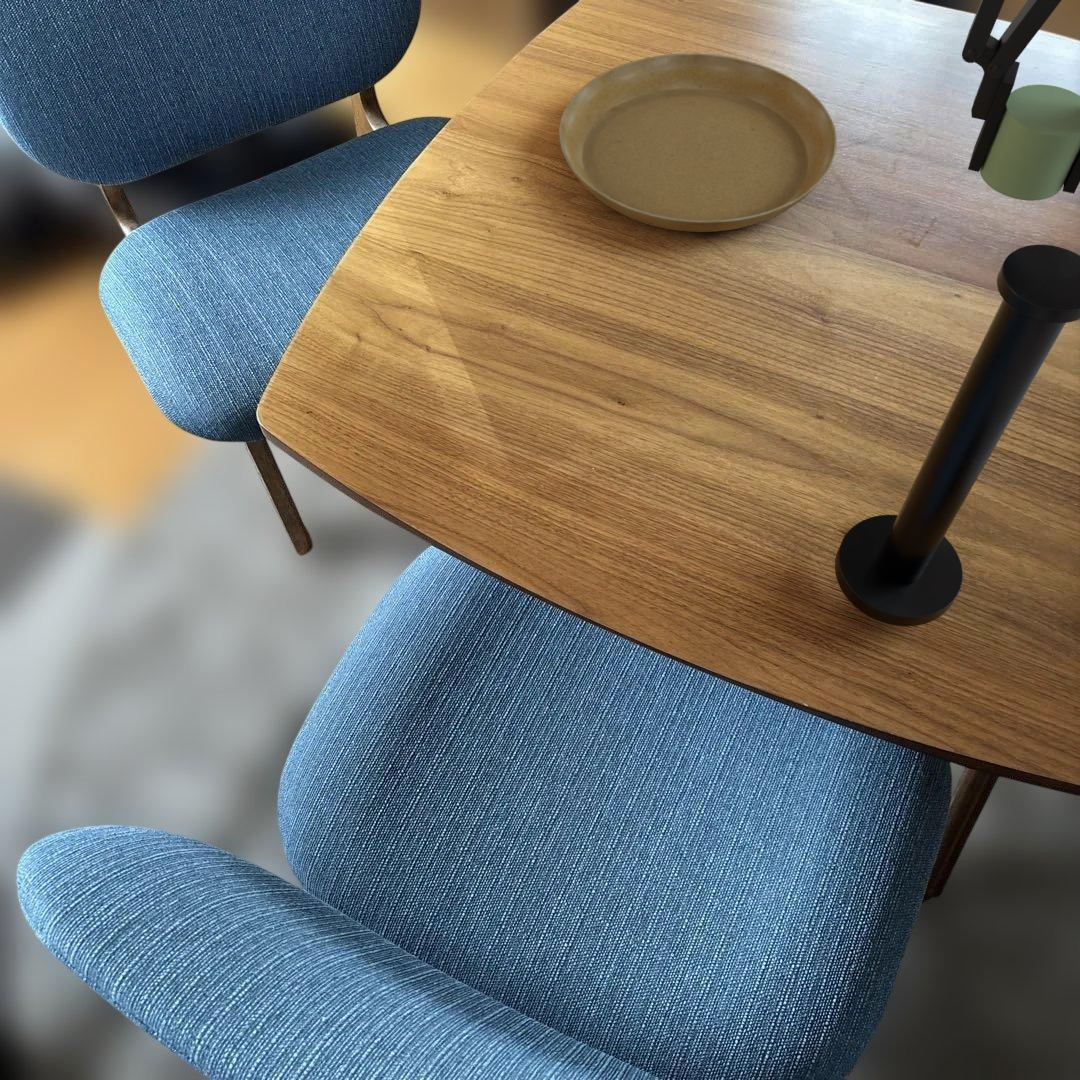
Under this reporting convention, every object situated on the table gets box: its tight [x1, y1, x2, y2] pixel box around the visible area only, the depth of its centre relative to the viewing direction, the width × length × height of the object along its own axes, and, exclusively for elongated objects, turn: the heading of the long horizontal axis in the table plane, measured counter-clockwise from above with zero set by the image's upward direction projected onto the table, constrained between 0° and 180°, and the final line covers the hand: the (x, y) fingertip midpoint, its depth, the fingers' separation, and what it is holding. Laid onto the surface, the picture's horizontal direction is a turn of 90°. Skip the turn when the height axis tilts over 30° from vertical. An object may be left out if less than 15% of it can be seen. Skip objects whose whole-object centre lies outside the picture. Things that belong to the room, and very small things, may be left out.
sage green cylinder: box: [979, 84, 1080, 202], centre depth 69 cm, size 6×6×5 cm
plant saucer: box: [558, 52, 838, 233], centre depth 91 cm, size 24×24×3 cm
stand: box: [834, 244, 1080, 627], centre depth 58 cm, size 8×8×26 cm
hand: (1023, 169), depth 71 cm, fingers closed on sage green cylinder, 6 cm apart
